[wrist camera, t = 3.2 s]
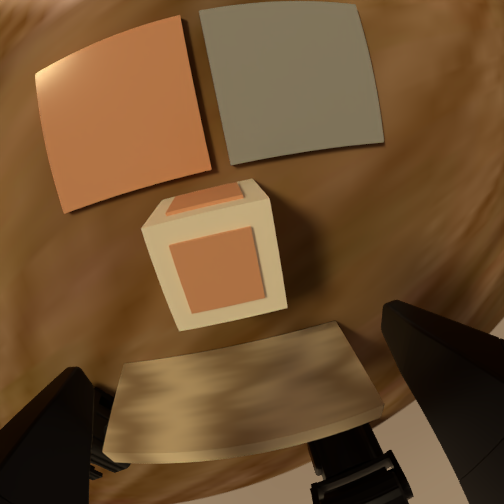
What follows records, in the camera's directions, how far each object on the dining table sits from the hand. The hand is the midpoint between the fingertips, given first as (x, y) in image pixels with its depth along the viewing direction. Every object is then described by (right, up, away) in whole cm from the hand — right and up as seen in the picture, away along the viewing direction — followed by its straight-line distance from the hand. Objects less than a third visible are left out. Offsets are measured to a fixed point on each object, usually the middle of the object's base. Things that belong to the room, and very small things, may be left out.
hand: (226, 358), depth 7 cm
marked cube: (-1, +4, +9) cm, 10 cm away
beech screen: (-1, -6, +13) cm, 14 cm away
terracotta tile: (-7, +10, +5) cm, 13 cm away
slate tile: (+3, +12, +6) cm, 14 cm away
